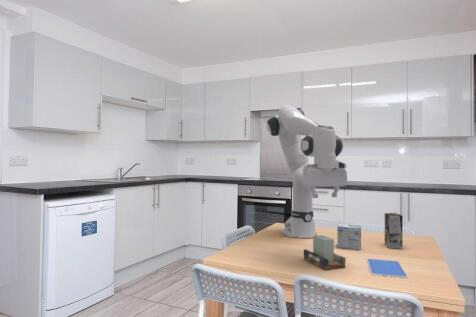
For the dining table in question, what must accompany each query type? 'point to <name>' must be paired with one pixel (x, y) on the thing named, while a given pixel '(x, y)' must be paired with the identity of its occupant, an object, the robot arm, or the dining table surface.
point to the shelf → (325, 260)
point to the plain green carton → (324, 247)
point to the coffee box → (393, 230)
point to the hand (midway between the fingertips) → (324, 197)
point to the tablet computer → (386, 268)
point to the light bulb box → (349, 236)
